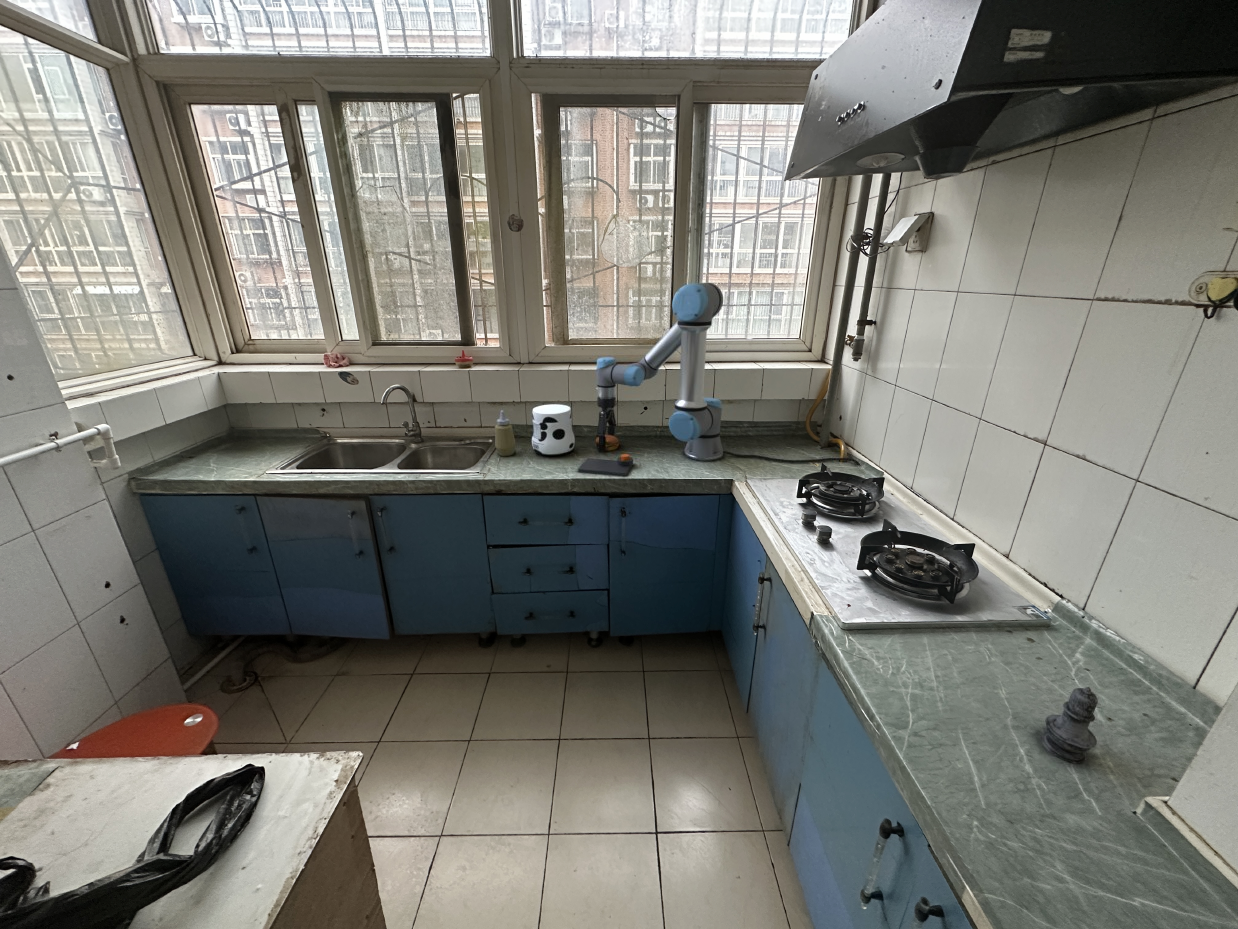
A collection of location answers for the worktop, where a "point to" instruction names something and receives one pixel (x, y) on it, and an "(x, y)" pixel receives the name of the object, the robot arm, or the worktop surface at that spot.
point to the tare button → (625, 457)
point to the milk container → (552, 430)
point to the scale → (607, 466)
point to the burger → (609, 442)
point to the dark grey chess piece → (1072, 727)
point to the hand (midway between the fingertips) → (607, 446)
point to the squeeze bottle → (504, 436)
